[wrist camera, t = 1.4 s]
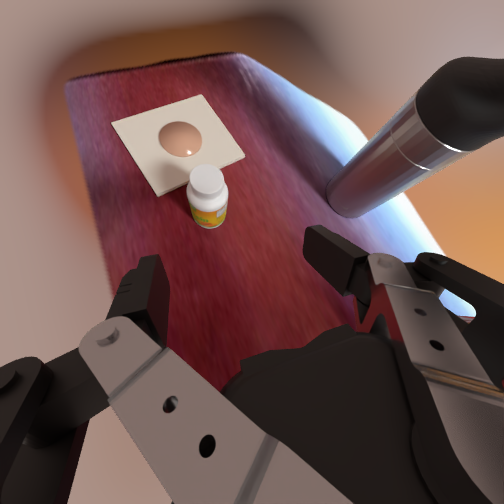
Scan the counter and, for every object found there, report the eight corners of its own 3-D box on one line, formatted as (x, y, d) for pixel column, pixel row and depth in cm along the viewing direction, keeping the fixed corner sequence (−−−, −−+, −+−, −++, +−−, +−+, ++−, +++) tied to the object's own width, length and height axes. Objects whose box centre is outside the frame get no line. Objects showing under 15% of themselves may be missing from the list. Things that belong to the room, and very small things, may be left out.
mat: (202, 97, 37) (201, 94, 36) (244, 157, 35) (245, 155, 35) (112, 125, 32) (110, 122, 31) (157, 196, 30) (156, 194, 30)
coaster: (189, 118, 34) (188, 116, 34) (209, 148, 34) (209, 146, 33) (151, 131, 32) (151, 129, 32) (173, 163, 32) (172, 161, 31)
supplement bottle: (185, 215, 31) (172, 179, 21) (206, 193, 32) (202, 150, 23) (212, 235, 31) (210, 208, 21) (232, 212, 32) (238, 176, 23)
